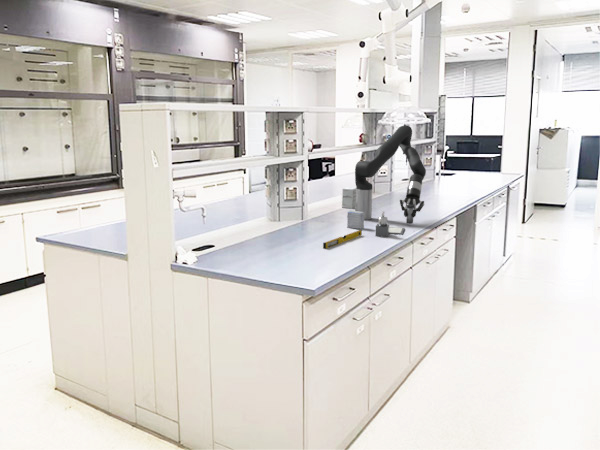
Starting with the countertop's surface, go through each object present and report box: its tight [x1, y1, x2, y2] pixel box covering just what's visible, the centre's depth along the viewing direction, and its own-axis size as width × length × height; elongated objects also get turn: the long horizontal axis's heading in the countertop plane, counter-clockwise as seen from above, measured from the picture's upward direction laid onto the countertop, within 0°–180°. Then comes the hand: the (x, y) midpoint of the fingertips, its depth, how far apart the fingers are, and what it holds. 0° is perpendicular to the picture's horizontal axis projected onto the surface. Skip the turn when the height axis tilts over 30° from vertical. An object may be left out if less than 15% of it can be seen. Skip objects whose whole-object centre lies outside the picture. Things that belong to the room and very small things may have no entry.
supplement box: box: [341, 187, 356, 209], centre depth 343 cm, size 7×7×13 cm
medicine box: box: [346, 210, 365, 230], centre depth 281 cm, size 8×4×9 cm, turn 59°
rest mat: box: [389, 226, 406, 235], centre depth 274 cm, size 11×14×1 cm
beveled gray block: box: [374, 211, 390, 238], centre depth 263 cm, size 6×6×12 cm
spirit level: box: [322, 229, 363, 250], centre depth 250 cm, size 33×1×3 cm, turn 145°
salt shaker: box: [405, 203, 415, 225], centre depth 287 cm, size 4×4×10 cm
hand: (409, 216), depth 286 cm, fingers closed on salt shaker, 3 cm apart
